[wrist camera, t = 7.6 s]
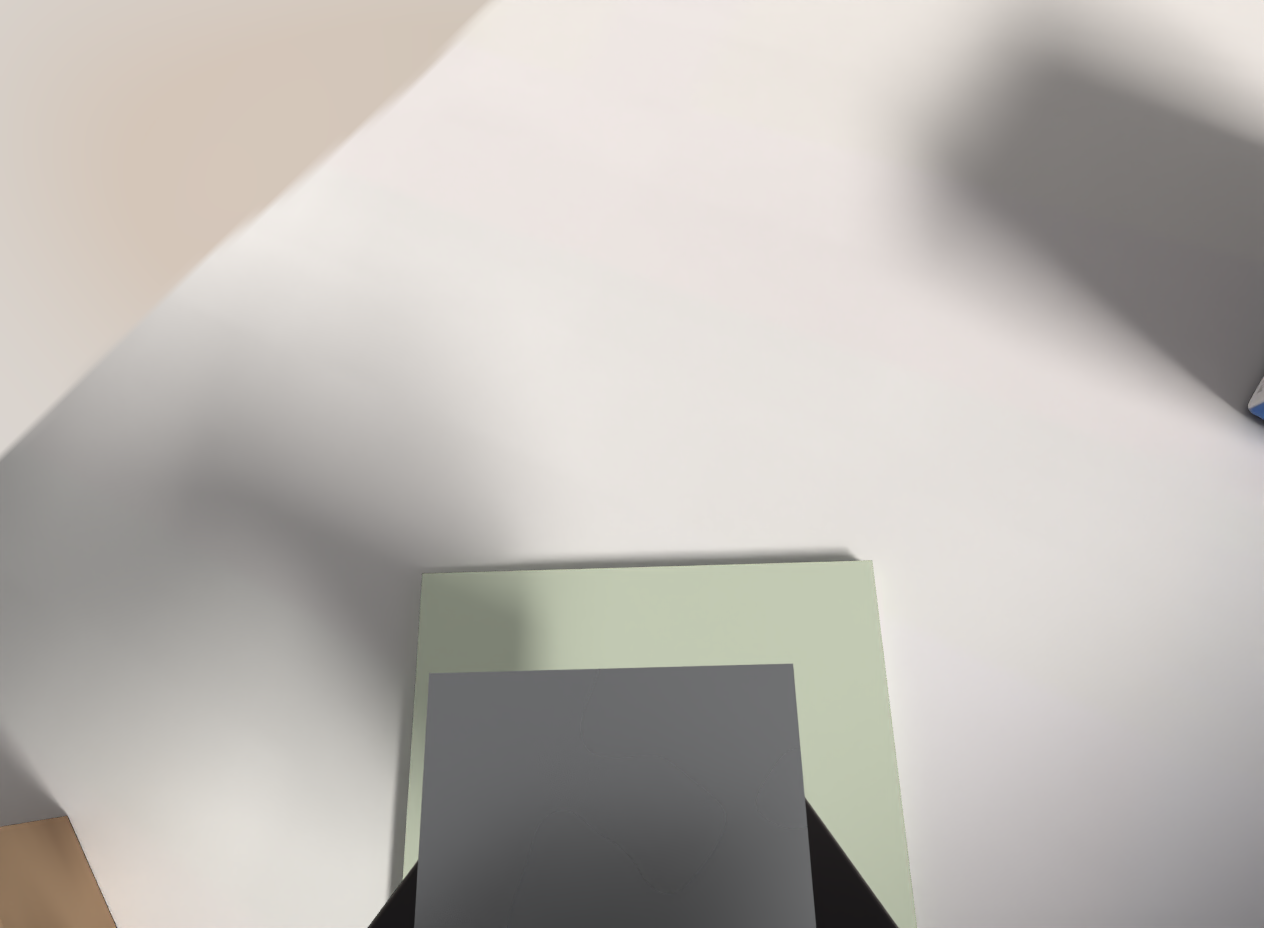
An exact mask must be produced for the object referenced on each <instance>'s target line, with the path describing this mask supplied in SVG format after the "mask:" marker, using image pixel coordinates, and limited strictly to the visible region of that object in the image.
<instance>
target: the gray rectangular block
mask: <svg viewBox="0 0 1264 928" xmlns="http://www.w3.org/2000/svg"><path fill="white" fill-rule="evenodd" d="M414 928H816V920H815V908H814V897H813V885H812V874H811V863H810V851H809V840H808V828H807V817H806V805H805V794H804V782H803V771H802V760H801V748H800V737H799V725H798V714H797V702H796V691H795V680H794V668H793V664H756V665H719V666H682V667H644V668H607V669H570V670H533V671H496V672H459V673H429V683H428V700H427V717H426V734H425V752H424V769H423V786H422V803H421V820H420V838H419V855H418V872H417V889H416V906H415V923H414Z"/></svg>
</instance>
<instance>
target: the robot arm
mask: <svg viewBox="0 0 1264 928" xmlns="http://www.w3.org/2000/svg"><path fill="white" fill-rule="evenodd" d="M805 805H806V817H807V828H808V840H809V851H810V863H811V874H812V885H813V897H814V908H815V920H816V928H899V927H898V926H897V924H896V923H895V922H894V920H893V919H892V917H891V916H890V915H889V913H888V912H887V911H886V909H885V908H884V906H883V905H882V904H881V902H880V901H879V899H878V898H877V897H876V895H875V894H874V892H873V891H872V890H871V888H870V887H869V885H868V884H867V883H866V881H865V880H864V878H863V877H862V876H861V874H860V873H859V871H858V870H857V869H856V867H855V866H854V865H853V863H852V862H851V860H850V859H849V858H848V856H847V855H846V853H845V852H844V851H843V849H842V848H841V846H840V845H839V844H838V842H837V841H836V839H835V838H834V837H833V835H832V834H831V832H830V831H829V830H828V828H827V827H826V825H825V824H824V823H823V821H822V820H821V818H820V817H819V816H818V814H817V813H816V812H815V810H814V809H813V807H812V806H811V805H810V803H809V802H808V800H807V799H806V798H805ZM417 872H418V860H417V862H416V863H415V864H414V866H413V867H412V869H411V870H410V871H409V873H408V874H407V875H406V877H405V878H404V879H403V881H402V882H401V883H400V885H399V886H398V887H397V889H396V890H395V891H394V893H393V894H392V896H391V897H390V898H389V900H388V901H387V902H386V904H385V905H384V906H383V908H382V909H381V910H380V912H379V913H378V914H377V916H376V917H375V918H374V920H373V921H372V923H371V924H370V925H369V927H368V928H414V923H415V906H416V889H417Z"/></svg>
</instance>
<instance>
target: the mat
mask: <svg viewBox="0 0 1264 928" xmlns="http://www.w3.org/2000/svg"><path fill="white" fill-rule="evenodd" d="M756 664H793V668H794V680H795V691H796V702H797V714H798V725H799V737H800V748H801V760H802V771H803V782H804V794H805V798H806V799H807V800H808V802H809V803H810V805H811V806H812V807H813V809H814V810H815V812H816V813H817V814H818V816H819V817H820V818H821V820H822V821H823V823H824V824H825V825H826V827H827V828H828V830H829V831H830V832H831V834H832V835H833V837H834V838H835V839H836V841H837V842H838V844H839V845H840V846H841V848H842V849H843V851H844V852H845V853H846V855H847V856H848V858H849V859H850V860H851V862H852V863H853V865H854V866H855V867H856V869H857V870H858V871H859V873H860V874H861V876H862V877H863V878H864V880H865V881H866V883H867V884H868V885H869V887H870V888H871V890H872V891H873V892H874V894H875V895H876V897H877V898H878V899H879V901H880V902H881V904H882V905H883V906H884V908H885V909H886V911H887V912H888V913H889V915H890V916H891V917H892V919H893V920H894V922H895V923H896V924H897V926H898V927H899V928H917V924H916V916H915V907H914V899H913V891H912V883H911V875H910V866H909V858H908V850H907V842H906V834H905V825H904V817H903V809H902V801H901V793H900V784H899V776H898V768H897V760H896V751H895V743H894V735H893V727H892V719H891V710H890V702H889V694H888V686H887V678H886V669H885V661H884V653H883V645H882V637H881V628H880V620H879V612H878V604H877V596H876V587H875V579H874V571H873V563H872V560H867V561H833V562H799V563H764V564H730V565H696V566H661V567H627V568H593V569H558V570H524V571H490V572H455V573H422V585H421V600H420V616H419V632H418V647H417V663H416V678H415V694H414V710H413V725H412V741H411V756H410V772H409V788H408V803H407V819H406V835H405V850H404V866H403V879H404V878H405V877H406V875H407V874H408V873H409V871H410V870H411V869H412V867H413V866H414V864H415V863H416V862H417V860H418V855H419V838H420V820H421V803H422V786H423V769H424V752H425V734H426V717H427V700H428V683H429V673H459V672H496V671H533V670H570V669H607V668H644V667H682V666H719V665H756Z"/></svg>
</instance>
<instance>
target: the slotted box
mask: <svg viewBox="0 0 1264 928" xmlns="http://www.w3.org/2000/svg"><path fill="white" fill-rule="evenodd" d="M0 928H116V926H115V923H114V921H113V919H112V917H111V914H110V912H109V910H108V908H107V905H106V903H105V901H104V898H103V896H102V894H101V892H100V889H99V887H98V885H97V883H96V880H95V878H94V876H93V874H92V871H91V869H90V867H89V864H88V862H87V860H86V858H85V855H84V853H83V851H82V849H81V846H80V844H79V842H78V839H77V837H76V835H75V833H74V830H73V828H72V826H71V824H70V821H69V819H68V817H67V816H63V817H57V818H51V819H45V820H39V821H33V822H27V823H21V824H14V825H8V826H2V827H0Z"/></svg>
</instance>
